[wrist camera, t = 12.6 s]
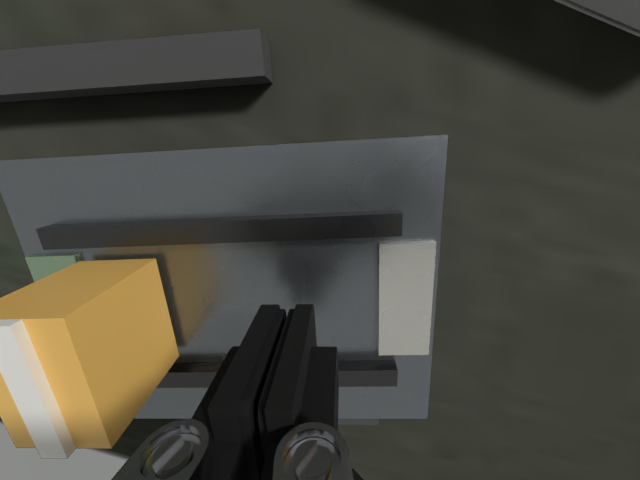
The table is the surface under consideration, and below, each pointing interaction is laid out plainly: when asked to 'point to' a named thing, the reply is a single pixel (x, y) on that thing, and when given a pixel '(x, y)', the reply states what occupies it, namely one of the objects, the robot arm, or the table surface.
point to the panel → (260, 251)
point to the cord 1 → (135, 66)
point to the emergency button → (610, 12)
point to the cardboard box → (82, 354)
